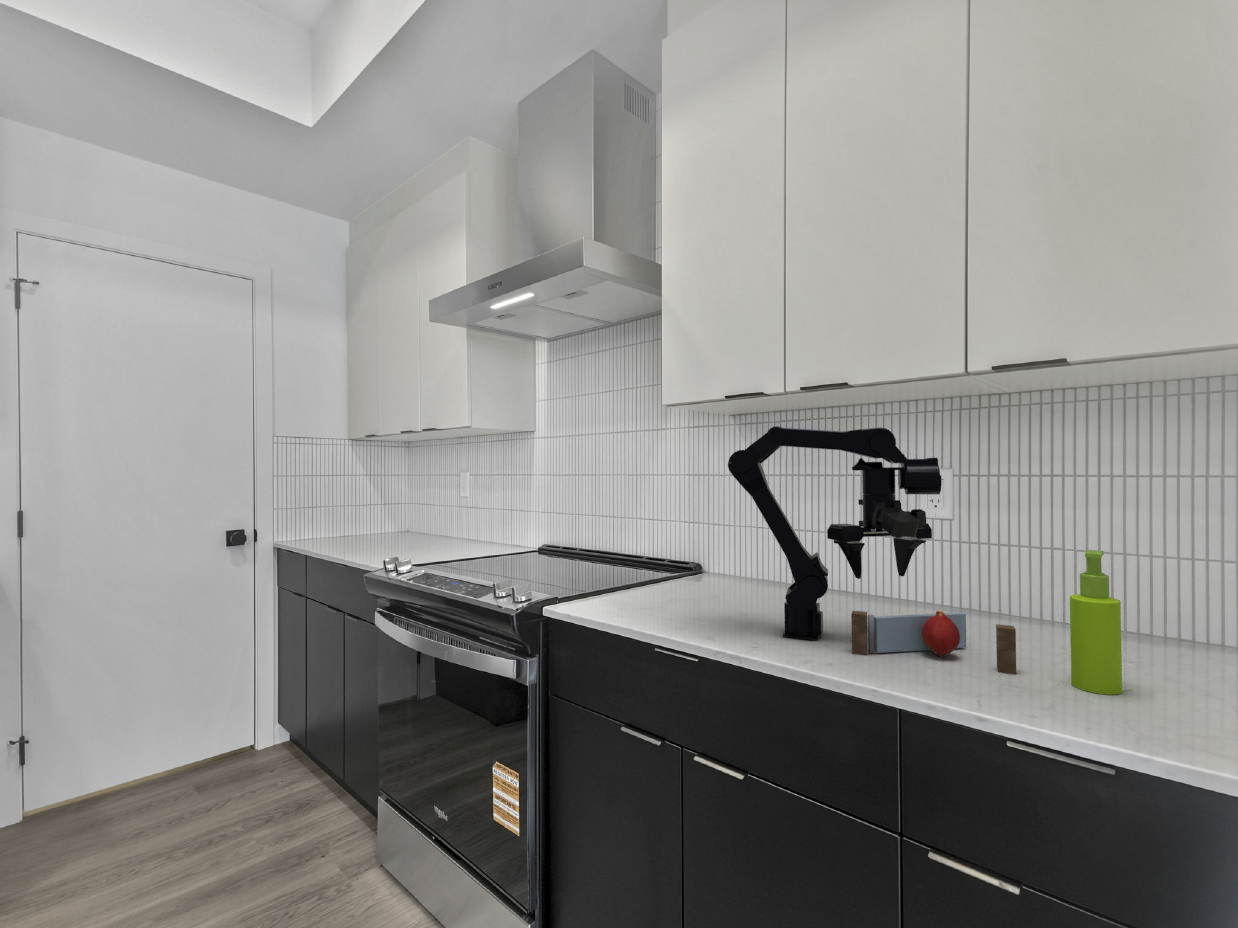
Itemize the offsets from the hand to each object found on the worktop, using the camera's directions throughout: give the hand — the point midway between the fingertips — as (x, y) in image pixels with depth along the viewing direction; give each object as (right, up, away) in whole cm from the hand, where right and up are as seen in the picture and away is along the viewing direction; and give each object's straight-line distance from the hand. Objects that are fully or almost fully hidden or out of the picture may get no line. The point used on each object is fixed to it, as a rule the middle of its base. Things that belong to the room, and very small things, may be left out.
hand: (880, 577), depth 113 cm
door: (+4, -12, -6) cm, 14 cm away
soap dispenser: (+21, -12, -24) cm, 35 cm away
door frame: (+3, -12, -12) cm, 17 cm away
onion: (+6, -12, -9) cm, 17 cm away
